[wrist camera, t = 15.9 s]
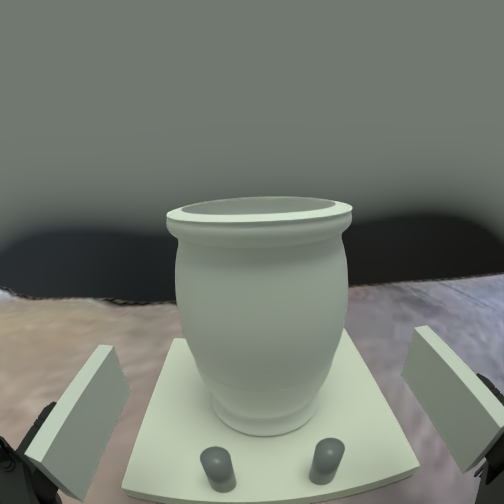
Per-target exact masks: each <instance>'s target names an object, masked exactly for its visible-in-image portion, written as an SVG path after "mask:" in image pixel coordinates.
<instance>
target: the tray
mask: <svg viewBox="0 0 504 504" xmlns="http://www.w3.org/2000/svg"><path fill="white" fill-rule="evenodd" d="M419 466H420V464H419V462H418V460H417V458H416V456H415V454H414V452H413V450H412V448H411V446H410V444H409V442H408V440H407V439H406V437H405V435H404V433H403V431H402V429H401V427H400V425H399V423H398V422H397V420H396V418H395V416H394V414H393V412H392V410H391V409H390V407H389V405H388V403H387V401H386V400H385V398H384V396H383V394H382V392H381V391H380V389H379V387H378V385H377V383H376V382H375V380H374V378H373V376H372V375H371V373H370V371H369V369H368V368H367V366H366V364H365V363H364V361H363V359H362V357H361V356H360V354H359V352H358V351H357V349H356V347H355V345H354V344H353V342H352V340H351V339H350V337H349V335H348V334H347V332H346V330H345V329H344V328H343V332H342V335H341V338H340V342H339V344H338V347H337V350H336V352H335V354H334V358H333V362H332V365H331V368H330V371H329V373H328V375H327V378H326V380H325V381H324V383H323V385H322V387H321V388H320V389H319V404H318V407H317V409H316V411H315V413H314V415H313V416H312V417H311V418H310V419H309V420H308V421H307V422H306V423H305V424H304V425H302V426H300V427H299V428H297V429H295V430H293V431H290V432H288V433H284V434H280V435H274V436H256V435H249V434H246V433H242V432H239V431H237V430H235V429H233V428H231V427H229V426H228V425H226V424H225V423H224V422H223V421H222V420H221V419H220V418H219V417H218V416H217V414H216V413H215V411H214V409H213V406H212V393H211V392H210V390H209V389H208V387H207V386H206V384H205V383H204V381H203V379H202V377H201V375H200V373H199V371H198V368H197V366H196V363H195V360H194V357H193V355H192V353H191V351H190V349H189V346H188V344H187V341H186V339H182V338H174V340H173V342H172V345H171V348H170V350H169V353H168V355H167V358H166V360H165V363H164V366H163V368H162V371H161V373H160V376H159V379H158V381H157V384H156V387H155V389H154V392H153V395H152V397H151V400H150V403H149V406H148V408H147V411H146V414H145V417H144V420H143V422H142V425H141V428H140V431H139V434H138V437H137V440H136V443H135V446H134V449H133V452H132V455H131V458H130V461H129V464H128V467H127V470H126V473H125V476H124V479H123V482H122V486H121V488H122V489H123V491H124V492H125V493H126V494H127V495H128V496H130V497H134V498H138V499H143V500H148V501H153V502H159V503H165V504H310V503H316V502H322V501H327V500H332V499H337V498H341V497H346V496H350V495H354V494H358V493H361V492H365V491H369V490H372V489H375V488H378V487H382V486H385V485H388V484H391V483H393V482H396V481H399V480H402V479H404V478H407V477H409V476H412V475H413V474H414V473H415V471H416V470H417V469H418V468H419Z"/></svg>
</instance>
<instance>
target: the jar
mask: <svg viewBox="0 0 504 504" xmlns="http://www.w3.org/2000/svg"><path fill="white" fill-rule="evenodd" d="M351 210H352V206H350V205H348V204H345V203H342V202H336V201H331V200H326V199H318V198H307V197H281V196H278V197H276V196H275V197H246V198H233V199H223V200H215V201H208V202H202V203H197V204H192V205H188V206H185V207H181V208H178V209H175V210H172V211H170V212H168V213H167V228H168V230H169V232H170V233H171V234H172V235H174V236H175V237H177V238H178V241H179V246H178V250H177V256H176V267H175V286H176V299H177V307H178V313H179V318H180V322H181V326H182V330H183V333H184V336H185V339H186V341H187V344H188V346H189V349H190V351H191V353H192V355H193V357H194V360H195V363H196V366H197V368H198V371H199V373H200V375H201V377H202V379H203V381H204V383H205V384H206V386H207V387H208V389H209V390H210V392H211V393H212V406H213V409H214V411H215V413H216V414H217V416H218V417H219V418H220V419H221V420H222V421H223V422H224V423H225V424H226V425H228V426H229V427H231V428H233V429H235V430H237V431H239V432H242V433H246V434H249V435H256V436H274V435H280V434H284V433H288V432H290V431H293V430H295V429H297V428H299V427H300V426H302V425H304V424H305V423H306V422H307V421H308V420H309V419H310V418H311V417H312V416H313V415H314V413H315V411H316V409H317V407H318V404H319V389H320V388H321V387H322V385H323V383H324V381H325V380H326V378H327V375H328V373H329V371H330V368H331V365H332V362H333V358H334V354H335V352H336V350H337V347H338V344H339V342H340V338H341V335H342V332H343V328H344V323H345V318H346V311H347V302H348V273H347V262H346V256H345V250H344V247H343V243H342V239H341V234H342V232H343V231H344V230H346V229H347V227H349V225H350V223H351V220H352V214H351Z"/></svg>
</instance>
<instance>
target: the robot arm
mask: <svg viewBox="0 0 504 504" xmlns="http://www.w3.org/2000/svg"><path fill="white" fill-rule="evenodd" d="M401 375H402V377H403V378H404V380H405V381H406V383H407V384H408V386H409V387H410V389H411V390H412V392H413V393H414V395H415V396H416V398H417V400H418V401H419V403H420V404H421V406H422V407H423V409H424V410H425V412H426V414H427V415H428V417H429V418H430V420H431V421H432V423H433V425H434V426H435V428H436V429H437V431H438V433H439V434H440V436H441V438H442V439H443V441H444V443H445V444H446V446H447V448H448V449H449V451H450V453H451V454H452V456H453V458H454V460H455V461H456V463H457V465H458V467H459V468H460V470H461V472H462V474H463V473H465V472H467V471H468V470H470V469H472V468H473V467H475V466H476V465H477V464H478V463H479V462H480V461H481V460H482V459H483V458H484V456H485V458H486V459H487V460H486V462H485V463H484V464H483V465H482V466H481V467H480V468H479V469H478V470H477V471H476V472H475V475H474V477H476V476H477V475H478V474H479V473H480V472H481V471H482V470H483V471H482V473H481V475H480V476H479V477H481V481H480V485H479V490H478V494H477V498H476V501H475V504H504V396H503V395H502V394H500V391H499V390H498V389H497V388H495V386H494V385H493V384H492V383H491V382H490V380H489V379H487V378H486V377H484V376H482V375H480V374H479V373H478V374H476V375H475V374H474V372H473V371H472V370H471V369H470V368H469V367H468V366H467V365H466V364H465V363H464V362H463V361H462V360H461V359H460V358H459V357H458V356H457V355H456V354H455V353H454V352H453V351H452V350H451V349H450V348H449V347H448V345H447V344H446V343H445V342H444V341H443V340H441V339H440V338H439V337H438V336H437V335H436V334H435V333H434V332H433V331H432V330H431V329H430V328H429V327H428V326H427V325H426V326H422V327H417V328H414V331H413V335H412V339H411V343H410V346H409V350H408V354H407V357H406V360H405V364H404V367H403V370H402V373H401ZM130 392H131V391H130V389H129V386H128V384H127V381H126V379H125V376H124V374H123V371H122V368H121V366H120V363H119V360H118V357H117V354H116V351H115V349H114V346H108V345H99V346H98V347H97V349H96V350H95V351H94V353H93V354H92V355H91V357H90V358H89V359H88V361H87V362H86V363H85V365H84V366H83V367H82V369H81V370H80V371H79V373H78V374H77V376H76V377H75V378H74V380H73V381H72V382H71V384H70V385H69V387H68V388H67V390H66V391H65V392H64V394H63V395H62V397H61V398H60V400H59V401H58V402H57V403H56V402H52V403H51V404H49V405H48V406H47V407H45V408H44V409H43V411H42V412H41V413H40V415H39V416H38V419H36V421H35V422H34V425H33V426H32V427H31V428H30V430H29V431H28V433H27V434H26V436H25V437H24V439H23V440H22V442H21V444H20V445H19V447H18V448H17V450H16V451H14V450H13V449H12V447H11V446H10V445H9V444H8V443H7V441H6V440H5V439H4V438H3V437H1V436H0V504H62V501H61V498H60V496H59V495H58V493H57V491H58V489H60V490H61V491H62V492H63V493H65V494H66V495H67V496H69V497H72V498H74V499H76V500H79V501H81V502H84V499H85V497H86V494H87V492H88V489H89V486H90V484H91V481H92V479H93V476H94V474H95V471H96V469H97V467H98V464H99V462H100V459H101V457H102V455H103V452H104V450H105V448H106V445H107V443H108V441H109V438H110V436H111V434H112V431H113V429H114V427H115V425H116V423H117V420H118V418H119V416H120V414H121V412H122V409H123V407H124V405H125V403H126V401H127V399H128V396H129V394H130Z"/></svg>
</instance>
